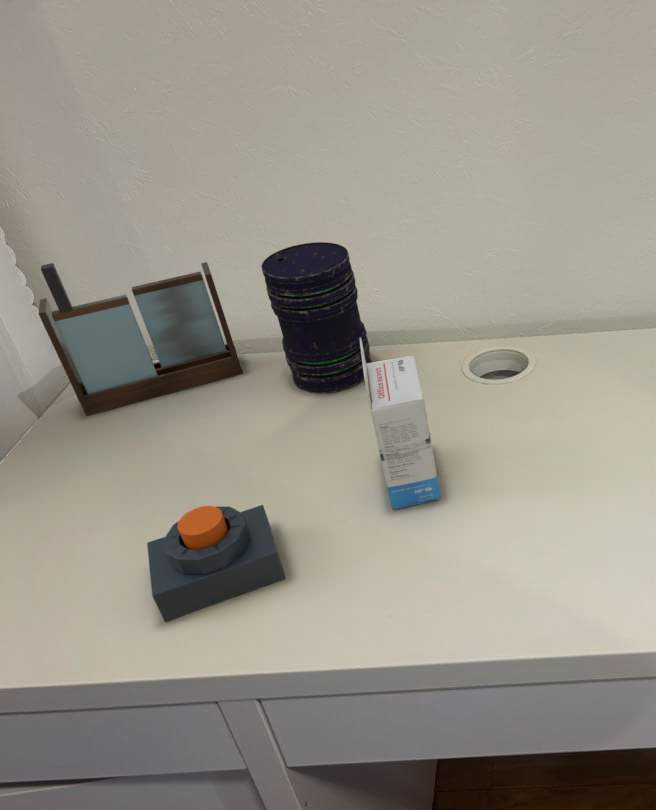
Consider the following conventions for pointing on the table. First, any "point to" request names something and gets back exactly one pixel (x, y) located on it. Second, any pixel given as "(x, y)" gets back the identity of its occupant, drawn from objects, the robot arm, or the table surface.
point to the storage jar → (317, 315)
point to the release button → (202, 527)
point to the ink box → (401, 430)
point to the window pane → (100, 338)
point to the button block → (214, 564)
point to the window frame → (164, 342)
